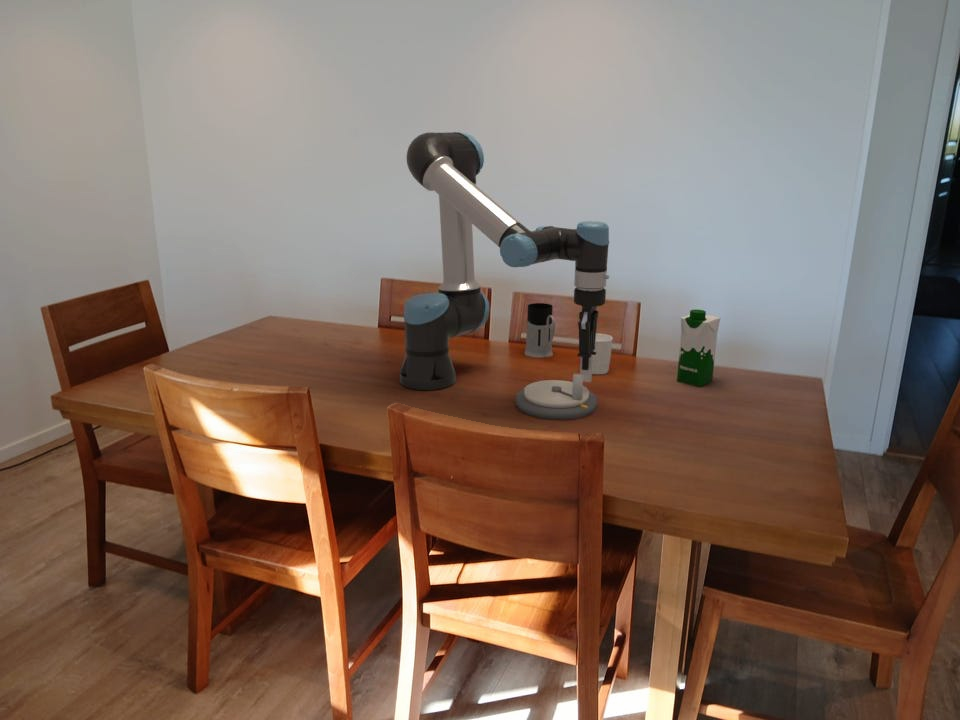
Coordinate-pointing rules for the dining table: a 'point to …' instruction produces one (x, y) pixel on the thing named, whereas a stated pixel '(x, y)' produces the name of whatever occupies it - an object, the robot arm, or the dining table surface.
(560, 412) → the stand base
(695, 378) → the milk carton
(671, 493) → the dining table surface
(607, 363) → the white cup
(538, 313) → the glass holder
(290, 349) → the dining table surface
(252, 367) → the dining table surface
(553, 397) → the cream crank wheel
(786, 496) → the dining table surface
